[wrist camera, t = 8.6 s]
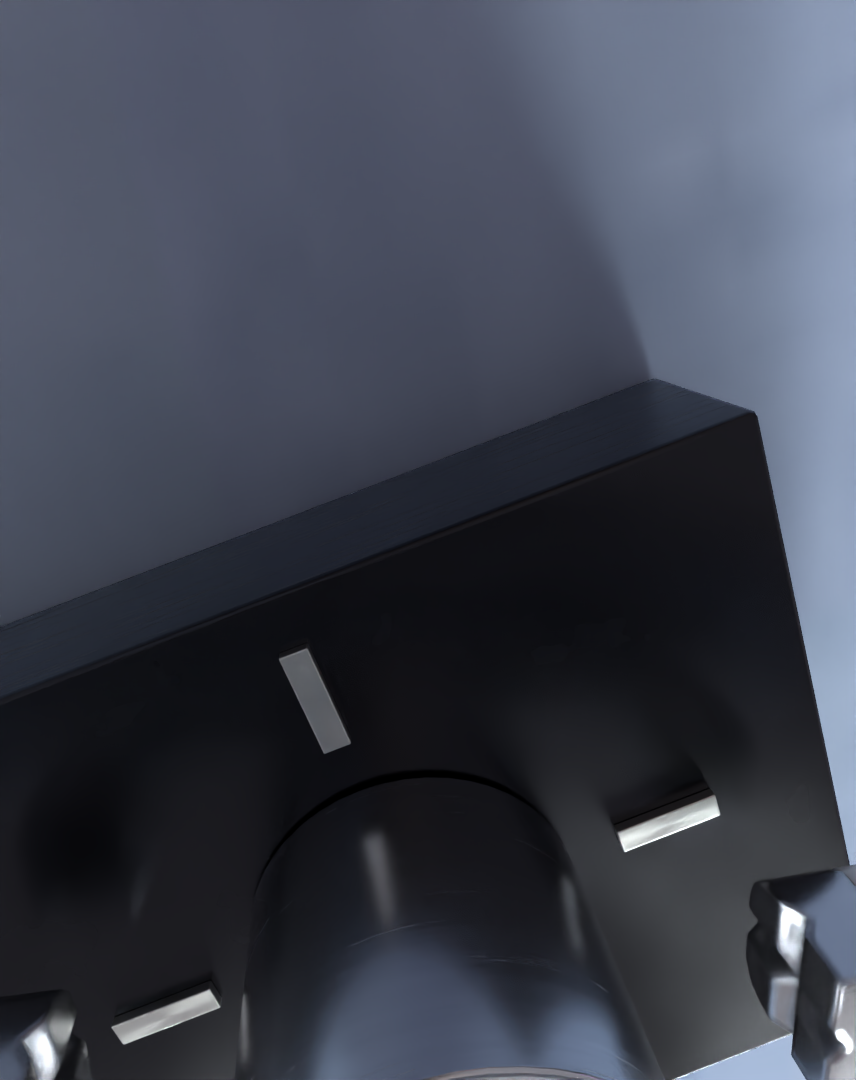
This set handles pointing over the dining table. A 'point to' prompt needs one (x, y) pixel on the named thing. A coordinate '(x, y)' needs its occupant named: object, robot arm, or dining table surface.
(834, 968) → the robot arm
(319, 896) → the silver dial knob
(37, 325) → the dining table surface
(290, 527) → the black dial plate
